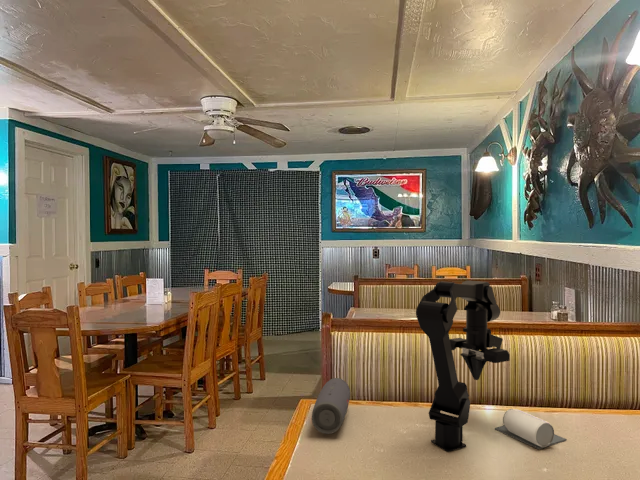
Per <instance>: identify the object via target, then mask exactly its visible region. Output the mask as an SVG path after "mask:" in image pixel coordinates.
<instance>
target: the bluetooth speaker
mask: <svg viewBox="0 0 640 480" xmlns="http://www.w3.org/2000/svg"><path fill="white" fill-rule="evenodd" d="M350 398H351V390H350V387H349V384H348V382H346V380H344V379H343V378H340V377H334V378H331V379H329V380H328V381H326V383H325V384H324V385H323V387H322V388H321V390H320V392H319V393H318V396H317V398H316V401H315V402H314V405H313V408H312V412H311V423H312V426H313V427H314V429H316V431H317V432H319V433H321V434H325V435H326V434H327V435H328V434H329V435H331V434H334V433H336V432H338V430H340V428H341V427H342V424H343V422H344V420H345V417H346V415H347V411H348V408H349V404H350Z"/></svg>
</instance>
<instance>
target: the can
mask: <svg viewBox="0 0 640 480" xmlns="http://www.w3.org/2000/svg"><path fill="white" fill-rule="evenodd" d="M502 424H503V425H504V426H505V427H506V428H507V429H508V430H509V431H510V432H512V433H514V434H515V435H517V436H519V437H521V438H524V439H526V440H528V441H530V442H532V443H534V444H536V445H538V446H540V447H545V448H547V447H546V446H548V445H549V444H551V442H552V441H553V438H554V434H555V429H554V426H553V425H552V424H551V423H550V422H549V421H546V420H545V419H542V418H540V417H537V416H535V415H533V414H530V413H528V412H525V411H523V410H520V409H518V408H508V409H507V410H506V411H505V412H504V414H503V417H502ZM548 447H549V446H548Z"/></svg>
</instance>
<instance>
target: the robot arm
mask: <svg viewBox="0 0 640 480" xmlns="http://www.w3.org/2000/svg"><path fill="white" fill-rule="evenodd" d="M441 298H447V299H449V298H450V299H451V300H450V302H449V303H447V302H440V301H439V300H440V299H441ZM457 298H461V299H463V300H465V301H466V302H467V304H466V305H465V306H464V308H463V310H464V311H466V312H465V313H466V314H465V315H466V317H465V319H466V320H465V321H466V322H465V325H466V326H465V327H463V328H462V332H464V333H465V338H463V337H455V338H450V333H449V332H450V331H451V328H452V326H453V324H454V318H455V316H456V313H457V311H458V306H457V305H458V304H457V301H456V300H457ZM420 299H421V300H420V301H419V303H418V305H417V307H416V309H415V317H416V319H417V322H418V326H419V328H420V329H421V331H422V332H424V334H425V335H426V336H427V337H428V340H429V345H430V349H431V353H432V354H431V355H432V358H433V364H434V369H435V372H436V373H435V374H436V378H437V382H438V386H437V388H436V390H435V392H434V397H433V398H434V399H433V401H432V403H431V406H430V408H429V411H428V416H429V420H430V421H435V422H434V425H435V428H434V429H435V433H434V436H435V437H434V438H433V439H431V440H430V443H432V444H434V445H435V446H436V447H438V448H440V449H442V450H443V451H445V452H447V453H449V452H454V451H456V450H460V449H464V448H467V444H466V443H464V442H463V440H464V439H463V438H464V437H463V436H464V435H463V431H464V426H465V425H467V423H468V422H469V416H470V411H471V399H469V397H470V394H469V391H468V386H467V384H466V382H462V381H459V380H458V374H457V370H456V365H455V359H454V355H453V351H455V350H456V349H457V348H458V349H462V351H461V352H462V353H460V354H459V355H460V356H461V357H462V359H463V361H464V362H465V363H466V365H467V368H468V370H469V372H470V374H471V376H472V378H473V380H475V381H479V380H480V377H481V375H482V372H483V370H484V367H485V365H486V364H487V362H489V363H493V364H498V363H504V362H505V363H506V362H509V361H510V360H511V357H510V352H509V351H508V350H507V349H504V348H502V344H503V341H504V339H503V337H500V336H497V335H495V334H492V330H491V328H488V323H489V322H492V321H494V320H497V319H498V318H499V317H500V315H501V309H500V307H499V304H497V300H496V298H495V294H494V290H493V287H492V286H491V284H490V282H489V281H478V280H465V281H462V283H456V282H453V281H437V282H436V284H435V286H434V288H432V289H431V290H430V291H428V292H427V293H426V294H424V295H423V296H422V298H420ZM437 301H439V302H437ZM443 412H444V413H443ZM446 413H448V414H446ZM450 414H451V415H450ZM454 415H455V416H454Z"/></svg>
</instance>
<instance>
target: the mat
mask: <svg viewBox="0 0 640 480" xmlns="http://www.w3.org/2000/svg"><path fill="white" fill-rule="evenodd" d="M494 430H496V431H498V432H500V433H502V434H504V435H506V436H509V437H511V438H513V439H515V440H518V441H519V442H521V443H524V444H526V445H528V446H530V447H532V448H534V449H536V450H542V449H544V448H548V447H551V446H553V445H557V444H560V443H562V442H566V441H567V438H565V437H563V436H560V435H558V434H555V433H554V438H553V441H552V442H551V444H549V445H548V446H546V447H540V446H538V445H536V444H534V443H532V442H530V441H528V440H526V439H524V438H521V437H519V436H517V435H515V434H514V433H512V432H510V431H509V430H508V429H507V428H506V427H505V426H504V424H503V425H499V426H496V427H494Z"/></svg>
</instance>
